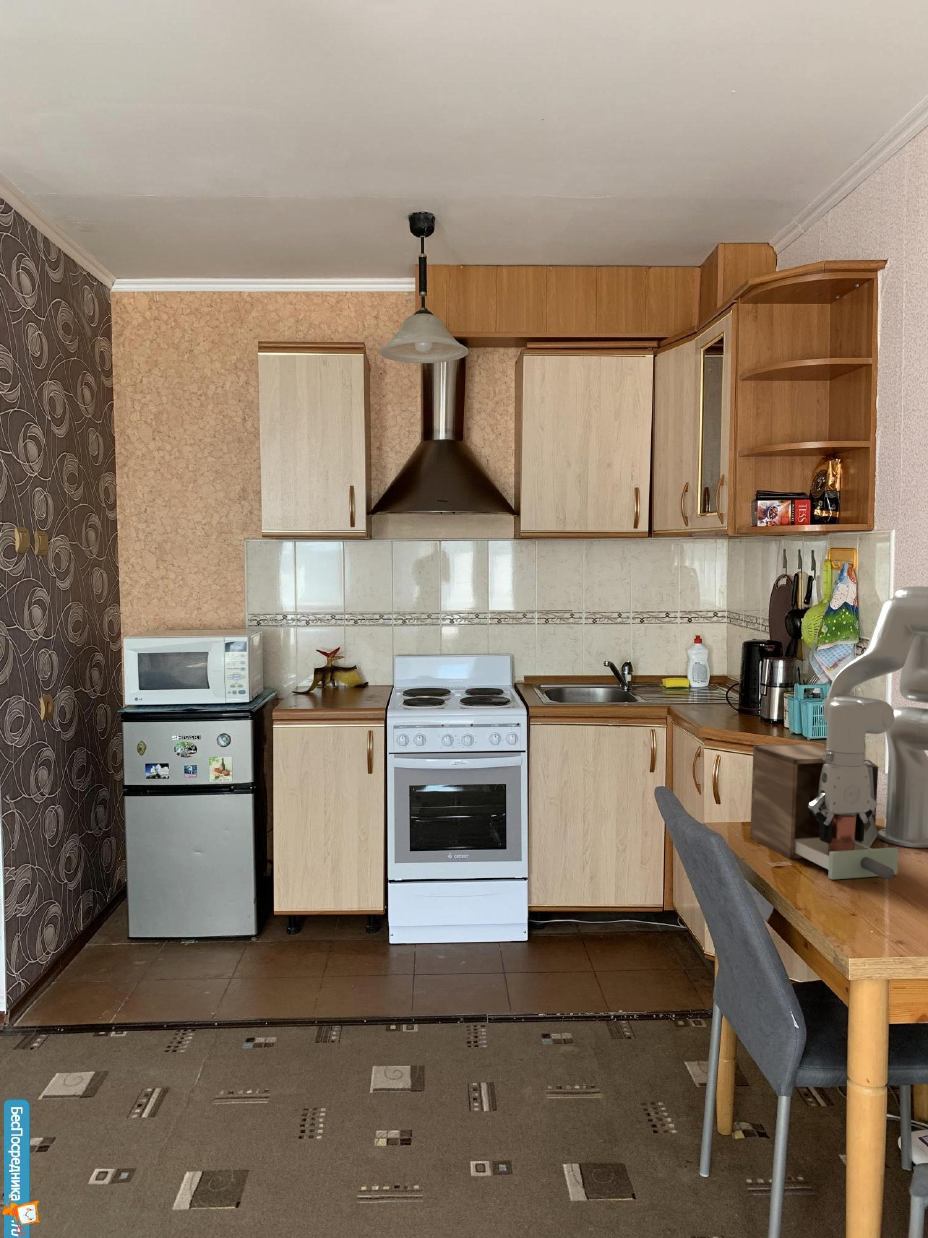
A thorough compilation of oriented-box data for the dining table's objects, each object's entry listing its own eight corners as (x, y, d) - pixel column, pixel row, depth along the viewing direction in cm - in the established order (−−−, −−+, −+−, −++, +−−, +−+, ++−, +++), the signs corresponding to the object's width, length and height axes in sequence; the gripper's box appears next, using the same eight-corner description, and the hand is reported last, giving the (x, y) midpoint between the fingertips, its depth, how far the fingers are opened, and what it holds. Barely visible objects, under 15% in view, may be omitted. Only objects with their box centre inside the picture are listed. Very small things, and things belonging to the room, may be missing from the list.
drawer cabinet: (809, 834, 222) (813, 743, 220) (853, 854, 206) (857, 757, 205) (750, 838, 218) (753, 745, 217) (789, 858, 202) (793, 759, 201)
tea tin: (859, 859, 196) (862, 812, 195) (837, 860, 195) (840, 813, 194) (843, 851, 201) (846, 805, 201) (822, 852, 200) (824, 806, 199)
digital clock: (865, 854, 206) (867, 807, 205) (825, 846, 212) (827, 800, 211) (890, 840, 218) (892, 796, 217) (851, 832, 224) (853, 789, 223)
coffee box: (876, 832, 224) (879, 766, 224) (848, 830, 226) (851, 765, 225) (867, 822, 233) (870, 759, 233) (840, 820, 235) (843, 757, 234)
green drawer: (847, 851, 208) (848, 827, 207) (921, 886, 185) (922, 859, 185) (786, 855, 204) (787, 831, 204) (854, 891, 182) (855, 864, 181)
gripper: (819, 764, 191) (816, 848, 192) (891, 761, 195) (888, 843, 196) (798, 756, 198) (795, 838, 199) (868, 754, 202) (864, 833, 203)
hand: (841, 840), depth 198 cm, fingers open, 7 cm apart
